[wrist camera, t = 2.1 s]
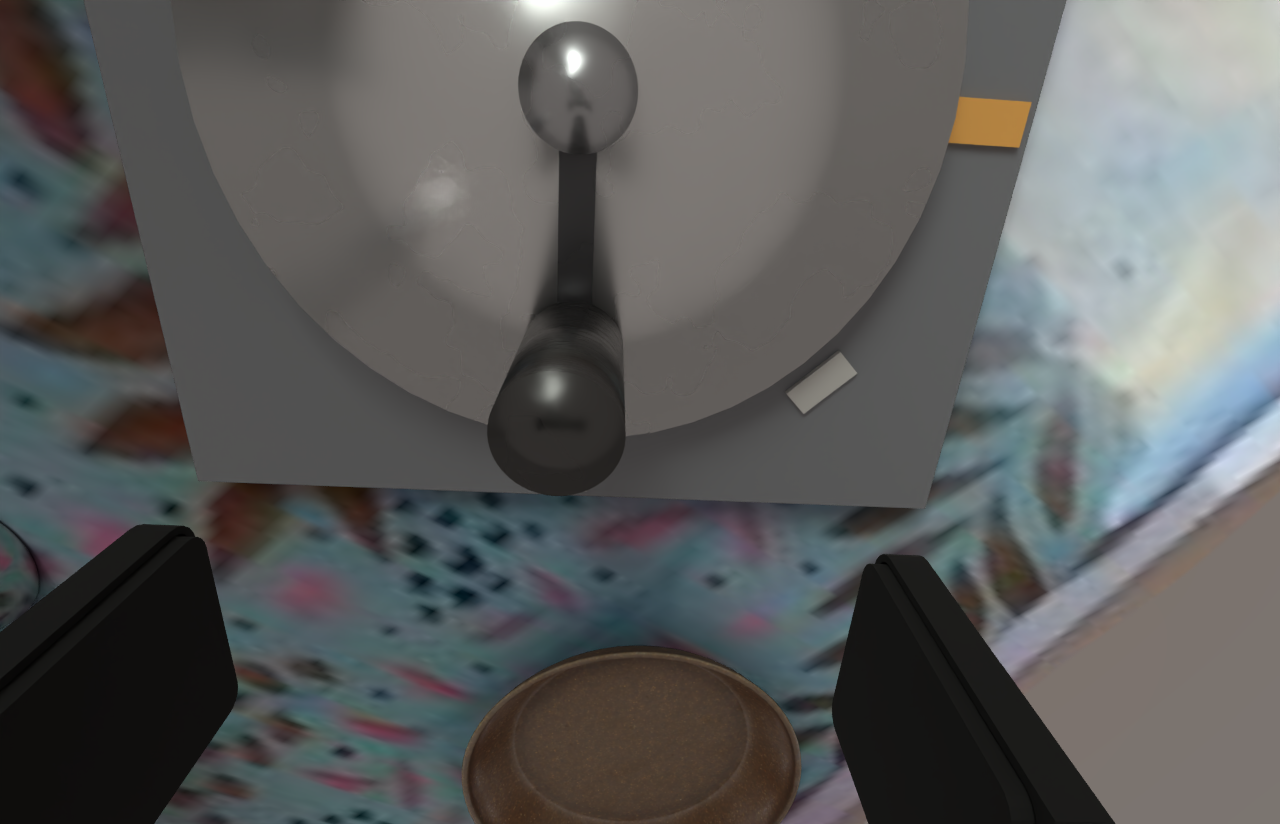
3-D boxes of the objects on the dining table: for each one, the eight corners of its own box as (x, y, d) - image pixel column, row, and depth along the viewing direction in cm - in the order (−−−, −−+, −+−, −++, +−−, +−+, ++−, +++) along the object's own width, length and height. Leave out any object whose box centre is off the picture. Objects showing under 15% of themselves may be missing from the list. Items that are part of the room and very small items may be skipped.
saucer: (773, 584, 28) (788, 630, 25) (799, 812, 34) (813, 867, 31) (433, 639, 28) (415, 688, 26) (518, 853, 34) (510, 910, 32)
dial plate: (-18, -635, 14) (-99, -732, 12) (1164, -487, 15) (1227, -557, 14) (222, 460, 24) (194, 484, 23) (908, 487, 26) (927, 511, 24)
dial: (108, -481, 13) (-383, -1063, 7) (1045, -375, 15) (1400, -788, 8) (268, 409, 21) (113, 535, 15) (864, 435, 23) (966, 564, 16)
